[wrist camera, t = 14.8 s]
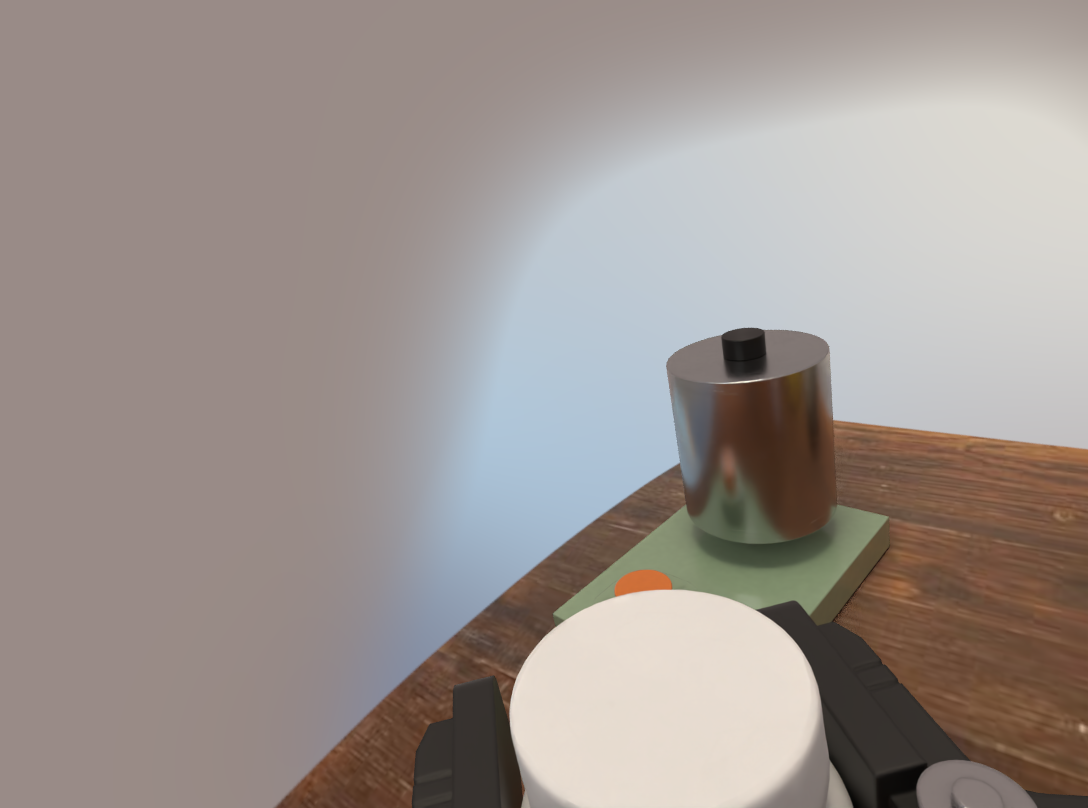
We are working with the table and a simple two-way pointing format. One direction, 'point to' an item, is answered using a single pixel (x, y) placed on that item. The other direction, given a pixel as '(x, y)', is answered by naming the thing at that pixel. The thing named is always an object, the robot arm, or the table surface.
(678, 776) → the pill bottle
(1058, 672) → the table surface
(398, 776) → the table surface
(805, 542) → the base
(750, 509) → the kettle
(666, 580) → the orange push button
